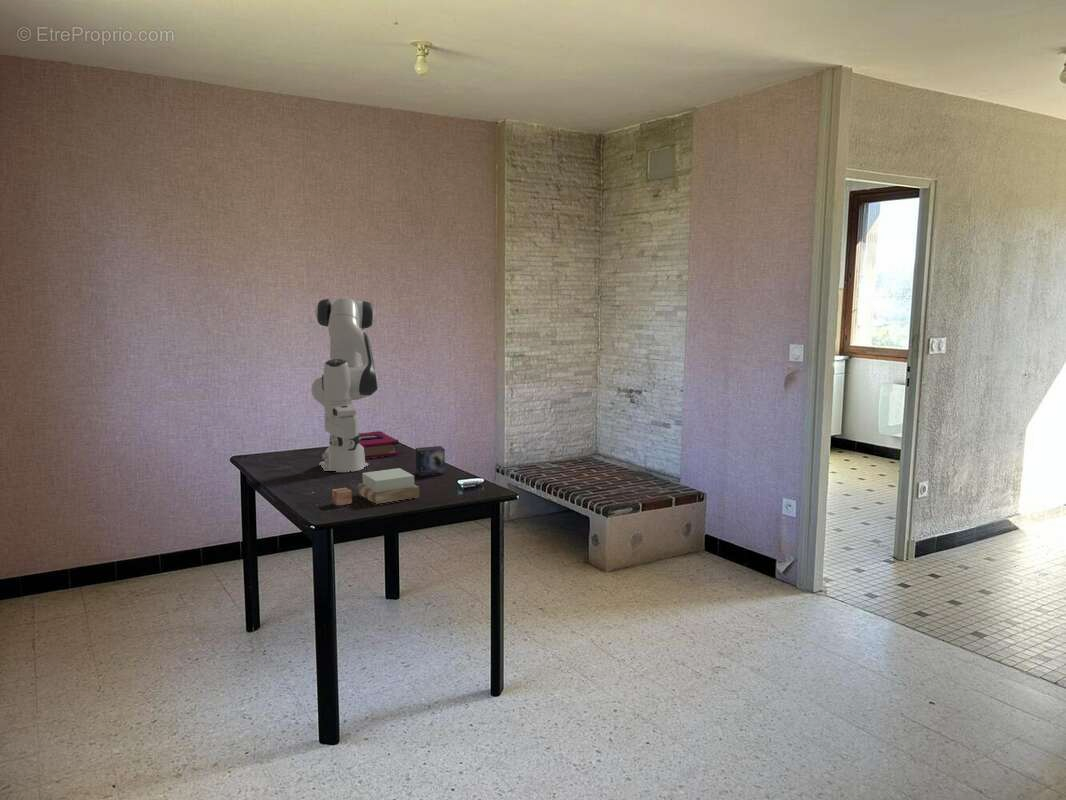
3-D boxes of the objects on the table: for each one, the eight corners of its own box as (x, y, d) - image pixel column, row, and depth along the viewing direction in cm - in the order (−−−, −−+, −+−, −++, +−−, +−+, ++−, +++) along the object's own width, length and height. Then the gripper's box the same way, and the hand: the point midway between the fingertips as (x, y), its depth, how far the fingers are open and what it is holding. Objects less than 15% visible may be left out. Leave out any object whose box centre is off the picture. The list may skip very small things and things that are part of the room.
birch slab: (359, 496, 273) (358, 484, 272) (400, 489, 282) (400, 477, 281) (376, 506, 260) (376, 493, 259) (419, 499, 269) (419, 486, 268)
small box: (419, 477, 298) (418, 450, 297) (415, 473, 304) (414, 447, 303) (445, 474, 302) (445, 448, 301) (441, 471, 308) (440, 445, 307)
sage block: (362, 483, 272) (362, 473, 272) (399, 478, 280) (399, 468, 279) (376, 492, 261) (375, 481, 260) (414, 486, 268) (414, 475, 267)
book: (353, 461, 329) (352, 444, 328) (336, 450, 353) (336, 434, 352) (400, 456, 339) (399, 439, 338) (380, 445, 363) (380, 429, 362)
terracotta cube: (332, 503, 262) (332, 489, 261) (346, 501, 265) (346, 487, 264) (337, 507, 258) (337, 492, 257) (352, 504, 261) (351, 490, 260)
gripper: (318, 405, 263) (320, 444, 265) (339, 412, 247) (341, 454, 248) (336, 403, 267) (338, 442, 269) (358, 410, 250) (360, 452, 252)
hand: (340, 448), depth 258 cm, fingers open, 8 cm apart
